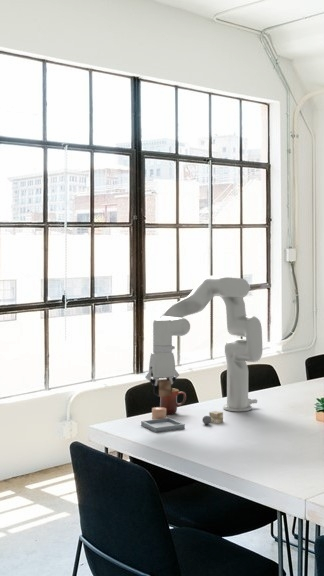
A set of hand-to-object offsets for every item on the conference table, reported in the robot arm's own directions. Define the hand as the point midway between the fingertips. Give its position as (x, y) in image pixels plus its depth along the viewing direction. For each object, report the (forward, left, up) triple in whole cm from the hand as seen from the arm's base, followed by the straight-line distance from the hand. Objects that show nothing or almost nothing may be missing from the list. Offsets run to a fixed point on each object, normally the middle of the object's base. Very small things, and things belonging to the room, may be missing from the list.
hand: (162, 393), depth 289 cm
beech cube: (-24, +2, -14) cm, 28 cm away
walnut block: (0, 0, 0) cm, 0 cm away
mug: (-15, -20, -14) cm, 29 cm away
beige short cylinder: (-4, -11, -14) cm, 18 cm away
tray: (0, 0, -14) cm, 14 cm away
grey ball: (-18, +4, -12) cm, 22 cm away
